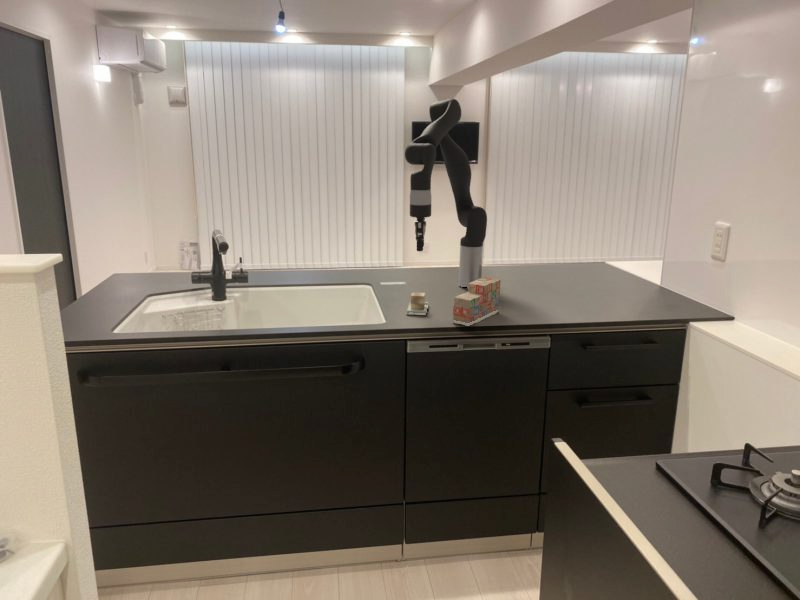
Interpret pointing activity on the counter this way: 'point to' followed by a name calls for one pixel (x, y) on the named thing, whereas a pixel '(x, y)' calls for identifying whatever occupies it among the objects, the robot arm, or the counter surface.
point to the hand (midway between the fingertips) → (420, 248)
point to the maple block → (417, 301)
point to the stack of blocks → (477, 300)
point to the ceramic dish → (416, 310)
